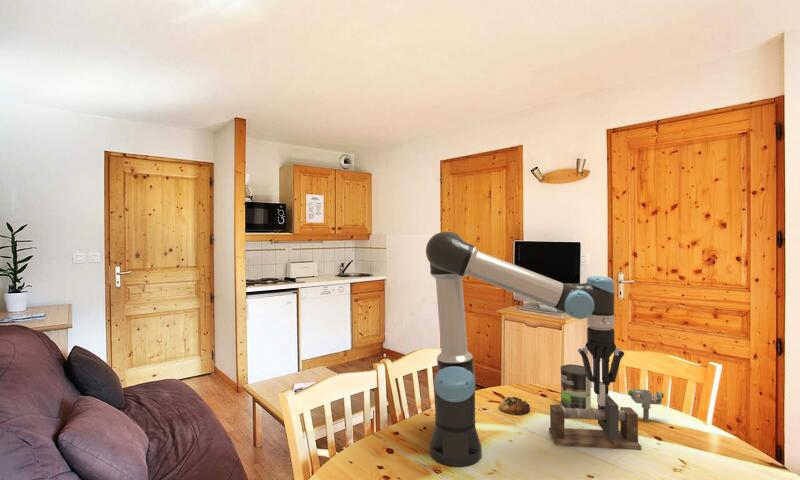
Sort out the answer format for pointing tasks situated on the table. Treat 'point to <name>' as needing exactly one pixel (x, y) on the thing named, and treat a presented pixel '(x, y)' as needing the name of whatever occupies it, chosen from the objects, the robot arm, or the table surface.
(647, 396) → the mechanical component
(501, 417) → the table surface
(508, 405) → the bread roll
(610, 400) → the dark grey square plate
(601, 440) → the pipe rig
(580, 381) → the coffee can
